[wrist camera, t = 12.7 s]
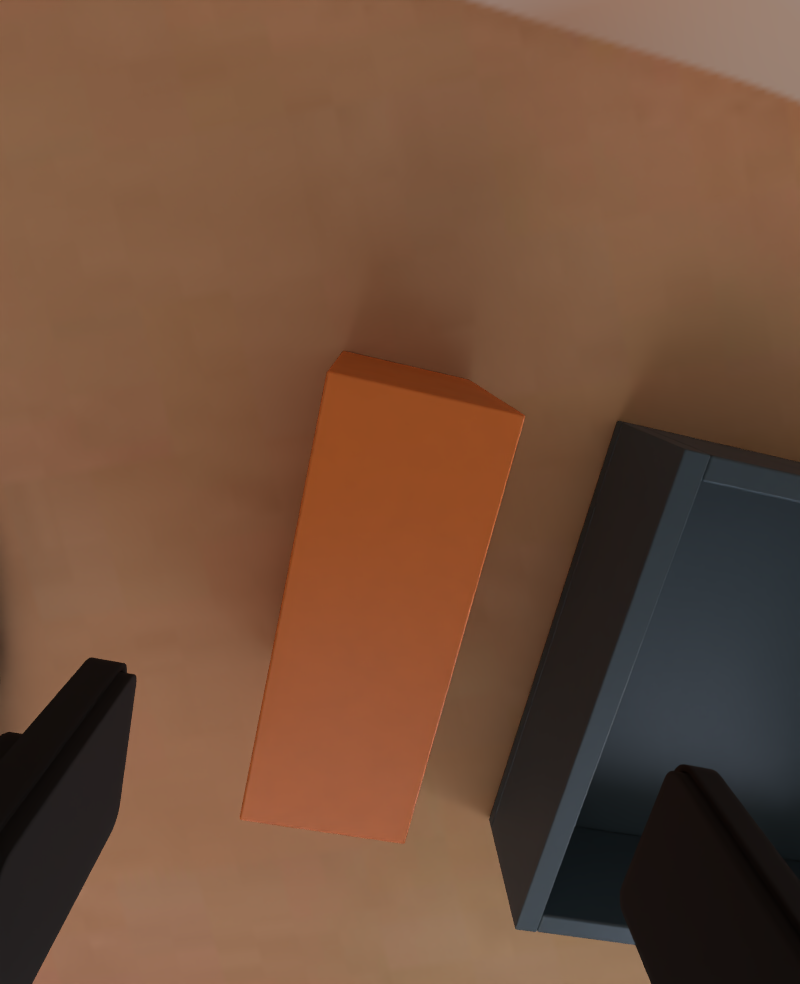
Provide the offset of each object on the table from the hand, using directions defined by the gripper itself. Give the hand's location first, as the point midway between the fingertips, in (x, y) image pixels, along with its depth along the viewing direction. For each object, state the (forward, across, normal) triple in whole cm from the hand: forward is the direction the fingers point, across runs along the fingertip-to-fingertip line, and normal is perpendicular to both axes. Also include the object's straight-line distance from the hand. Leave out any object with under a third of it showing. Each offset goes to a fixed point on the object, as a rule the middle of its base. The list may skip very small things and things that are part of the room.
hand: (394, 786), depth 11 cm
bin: (+13, -15, +3) cm, 20 cm away
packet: (+13, +1, 0) cm, 13 cm away
